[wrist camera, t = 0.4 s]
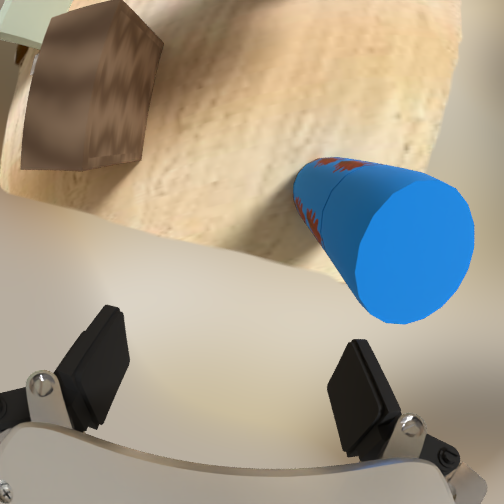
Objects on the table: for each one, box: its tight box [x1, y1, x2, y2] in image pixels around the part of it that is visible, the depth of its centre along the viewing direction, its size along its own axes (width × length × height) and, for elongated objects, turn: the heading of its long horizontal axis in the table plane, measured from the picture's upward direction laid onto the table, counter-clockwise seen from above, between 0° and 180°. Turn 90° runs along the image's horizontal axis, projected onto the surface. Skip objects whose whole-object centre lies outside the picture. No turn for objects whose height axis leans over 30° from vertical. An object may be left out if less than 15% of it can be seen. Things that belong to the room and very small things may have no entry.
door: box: [0, 0, 73, 50], centre depth 16 cm, size 16×4×16 cm, turn 170°
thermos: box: [293, 157, 474, 324], centre depth 27 cm, size 11×11×25 cm
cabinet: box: [21, 0, 164, 171], centre depth 25 cm, size 19×21×16 cm
